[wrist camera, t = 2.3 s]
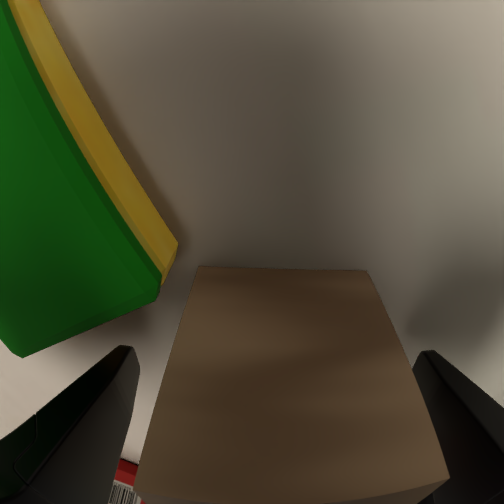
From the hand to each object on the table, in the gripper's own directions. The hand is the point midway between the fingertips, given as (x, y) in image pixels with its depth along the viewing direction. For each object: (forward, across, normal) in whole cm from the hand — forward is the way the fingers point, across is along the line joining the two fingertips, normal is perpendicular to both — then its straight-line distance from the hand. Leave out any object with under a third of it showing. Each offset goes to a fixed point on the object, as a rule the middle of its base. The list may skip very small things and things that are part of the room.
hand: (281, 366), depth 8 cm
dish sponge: (+2, +9, -7) cm, 12 cm away
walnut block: (+1, 0, 0) cm, 1 cm away
